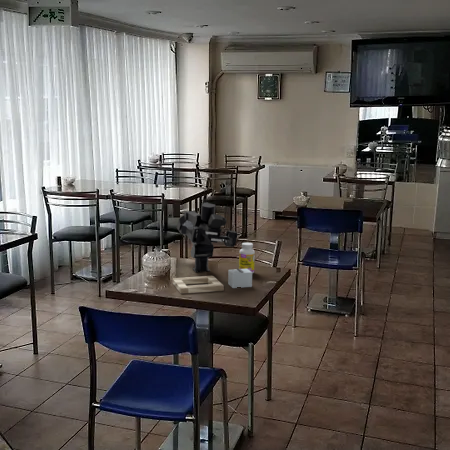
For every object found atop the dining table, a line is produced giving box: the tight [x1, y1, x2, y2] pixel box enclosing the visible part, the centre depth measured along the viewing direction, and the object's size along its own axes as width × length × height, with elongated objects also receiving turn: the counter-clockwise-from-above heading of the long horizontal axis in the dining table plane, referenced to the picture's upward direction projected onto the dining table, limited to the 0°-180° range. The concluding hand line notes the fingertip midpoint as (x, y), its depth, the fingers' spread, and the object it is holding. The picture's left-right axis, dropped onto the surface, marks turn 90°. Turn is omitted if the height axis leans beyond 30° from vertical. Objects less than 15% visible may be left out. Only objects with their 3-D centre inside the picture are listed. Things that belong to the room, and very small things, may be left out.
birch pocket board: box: [171, 275, 225, 294], centre depth 239 cm, size 15×17×2 cm
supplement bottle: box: [238, 242, 256, 274], centre depth 261 cm, size 7×7×13 cm
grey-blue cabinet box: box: [227, 268, 253, 289], centre depth 242 cm, size 6×8×6 cm
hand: (220, 244), depth 238 cm, fingers open, 9 cm apart
